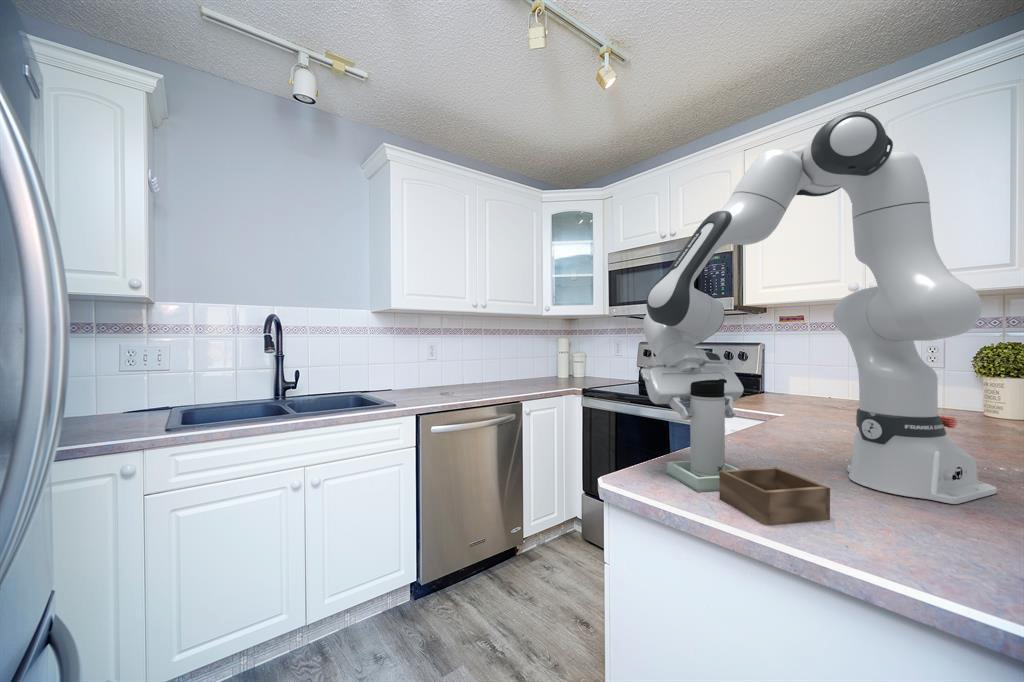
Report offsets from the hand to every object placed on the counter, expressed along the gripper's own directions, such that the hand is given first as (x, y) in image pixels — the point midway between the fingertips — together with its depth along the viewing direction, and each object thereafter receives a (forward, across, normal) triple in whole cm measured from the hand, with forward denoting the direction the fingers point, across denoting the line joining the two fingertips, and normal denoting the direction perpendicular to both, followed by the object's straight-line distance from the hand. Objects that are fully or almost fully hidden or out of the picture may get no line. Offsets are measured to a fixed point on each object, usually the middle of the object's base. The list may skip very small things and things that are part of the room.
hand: (709, 417), depth 82 cm
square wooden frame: (+18, +2, 0) cm, 19 cm away
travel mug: (+8, 0, +9) cm, 13 cm away
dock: (+9, 0, +10) cm, 13 cm away
